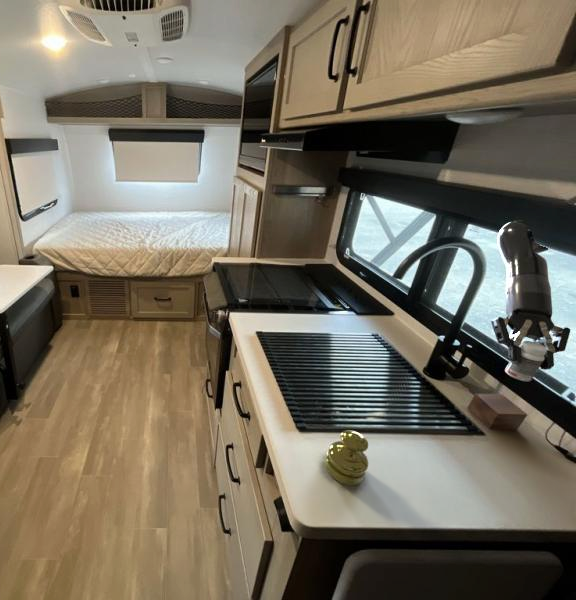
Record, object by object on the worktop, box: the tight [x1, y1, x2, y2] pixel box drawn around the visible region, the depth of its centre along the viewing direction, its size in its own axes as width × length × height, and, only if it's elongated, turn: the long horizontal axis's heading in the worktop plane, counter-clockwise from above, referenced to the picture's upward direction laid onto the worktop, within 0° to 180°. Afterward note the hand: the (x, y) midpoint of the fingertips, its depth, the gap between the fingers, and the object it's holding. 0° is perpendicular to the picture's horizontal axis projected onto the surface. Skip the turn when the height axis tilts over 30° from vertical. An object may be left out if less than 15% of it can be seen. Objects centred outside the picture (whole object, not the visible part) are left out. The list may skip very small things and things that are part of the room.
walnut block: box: [467, 393, 528, 431], centre depth 84 cm, size 7×7×5 cm
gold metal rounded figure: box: [324, 429, 369, 486], centre depth 68 cm, size 7×7×10 cm
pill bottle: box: [504, 340, 547, 382], centre depth 77 cm, size 5×5×8 cm
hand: (531, 365), depth 75 cm, fingers closed on pill bottle, 4 cm apart
